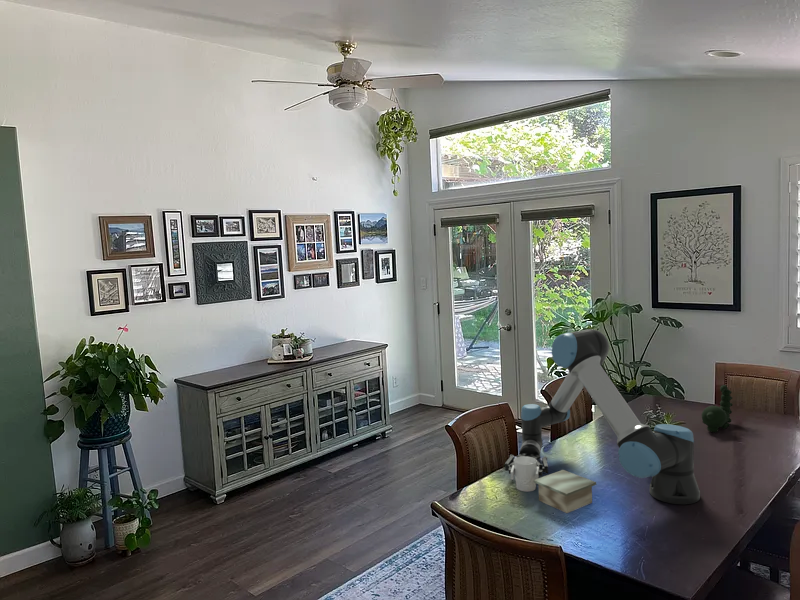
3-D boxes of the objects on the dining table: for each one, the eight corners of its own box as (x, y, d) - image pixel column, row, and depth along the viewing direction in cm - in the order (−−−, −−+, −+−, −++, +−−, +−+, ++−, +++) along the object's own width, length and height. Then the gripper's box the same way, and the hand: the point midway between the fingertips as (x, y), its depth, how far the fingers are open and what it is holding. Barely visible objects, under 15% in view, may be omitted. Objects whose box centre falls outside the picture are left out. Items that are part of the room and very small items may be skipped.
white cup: (539, 492, 202) (538, 463, 201) (516, 493, 202) (515, 464, 201) (534, 482, 210) (534, 455, 209) (512, 483, 210) (511, 456, 209)
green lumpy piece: (715, 423, 268) (695, 432, 251) (716, 382, 268) (696, 388, 250) (738, 427, 262) (719, 437, 244) (739, 385, 261) (720, 391, 244)
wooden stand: (596, 502, 192) (596, 482, 191) (567, 515, 184) (566, 493, 183) (563, 489, 203) (563, 469, 203) (534, 500, 196) (533, 480, 195)
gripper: (558, 464, 220) (555, 489, 198) (503, 461, 226) (494, 485, 204) (557, 444, 219) (554, 467, 197) (502, 442, 225) (493, 464, 204)
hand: (524, 476), depth 201 cm, fingers closed on white cup, 8 cm apart
